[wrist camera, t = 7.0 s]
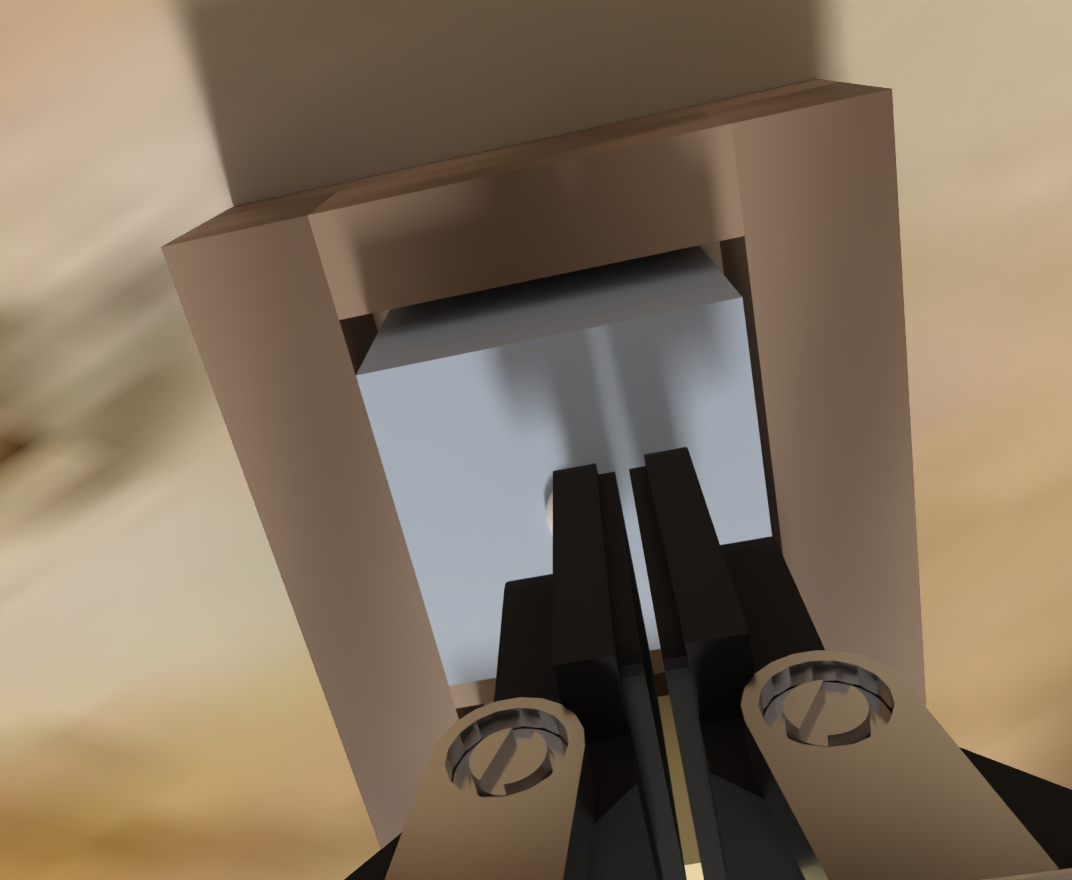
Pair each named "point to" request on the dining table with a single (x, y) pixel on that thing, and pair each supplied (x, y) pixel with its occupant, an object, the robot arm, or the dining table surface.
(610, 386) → the tile
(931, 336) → the dining table surface
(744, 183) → the wooden tile rack
